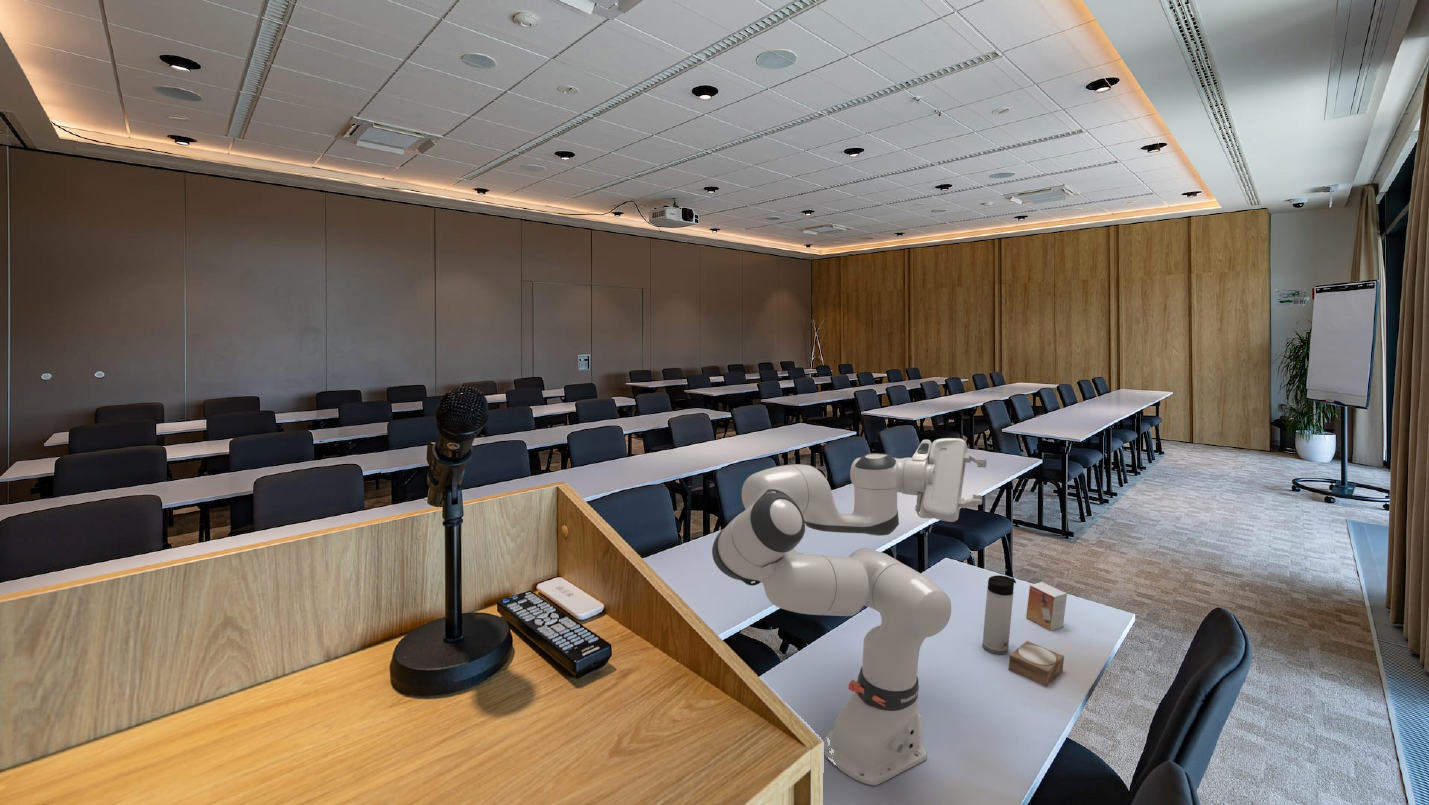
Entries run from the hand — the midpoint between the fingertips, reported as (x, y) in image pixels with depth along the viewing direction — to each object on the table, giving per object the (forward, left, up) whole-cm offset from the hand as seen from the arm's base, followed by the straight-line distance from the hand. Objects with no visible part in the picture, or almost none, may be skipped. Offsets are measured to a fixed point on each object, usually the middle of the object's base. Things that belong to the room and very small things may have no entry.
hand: (984, 481), depth 136 cm
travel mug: (+24, +4, -52) cm, 57 cm away
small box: (+48, +1, -52) cm, 71 cm away
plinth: (+22, -7, -52) cm, 57 cm away
